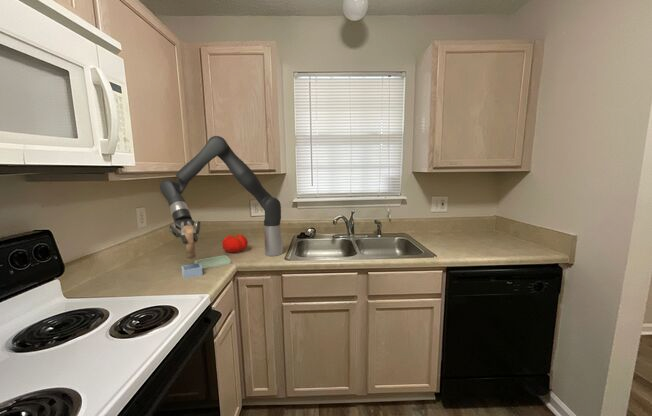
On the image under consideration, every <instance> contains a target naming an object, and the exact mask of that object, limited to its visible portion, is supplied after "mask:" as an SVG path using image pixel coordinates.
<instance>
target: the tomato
mask: <svg viewBox="0 0 652 416" xmlns="http://www.w3.org/2000/svg"><path fill="white" fill-rule="evenodd" d="M221 243H222V245H221V246H222V249H223V250H224V251H226V252H227V253H233V254H235V253H238V252H243V251H244V250H245V249H247V246H248V243H249V242H248V238H246V236H244V235H243V234H240V233H236V234H233V235H232V234H230V235H227V236H226V237H225V238H223V240H222V242H221Z"/></svg>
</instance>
